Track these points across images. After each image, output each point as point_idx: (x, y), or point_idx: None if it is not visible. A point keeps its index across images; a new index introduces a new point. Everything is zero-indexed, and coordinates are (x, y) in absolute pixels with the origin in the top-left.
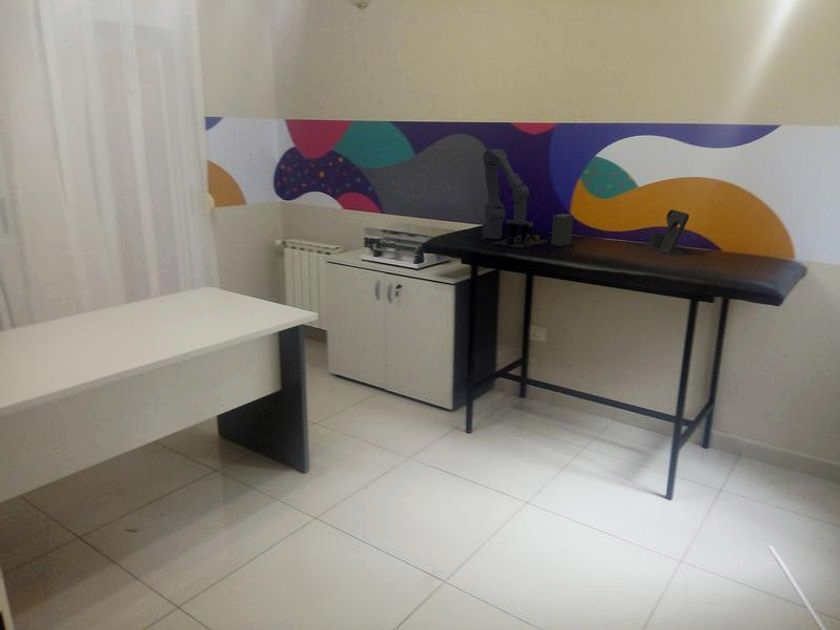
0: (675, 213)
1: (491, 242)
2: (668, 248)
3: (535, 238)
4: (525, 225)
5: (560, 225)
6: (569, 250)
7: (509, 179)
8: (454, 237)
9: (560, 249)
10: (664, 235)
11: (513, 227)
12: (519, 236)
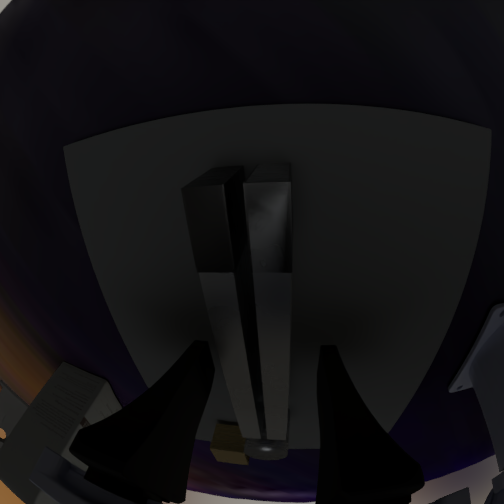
0: None
1: (486, 146)
2: (6, 395)
3: (217, 435)
4: (104, 488)
5: (11, 441)
6: (15, 325)
7: None
8: None
9: (30, 325)
10: None
11: (331, 482)
12: (251, 393)
